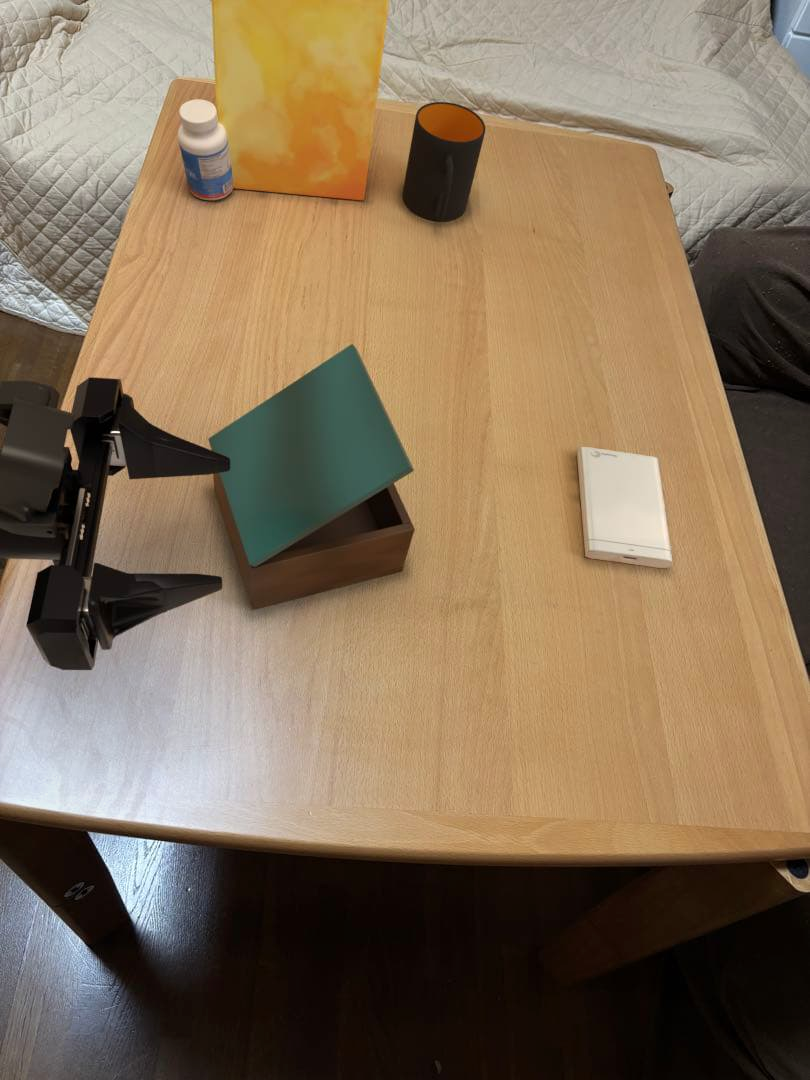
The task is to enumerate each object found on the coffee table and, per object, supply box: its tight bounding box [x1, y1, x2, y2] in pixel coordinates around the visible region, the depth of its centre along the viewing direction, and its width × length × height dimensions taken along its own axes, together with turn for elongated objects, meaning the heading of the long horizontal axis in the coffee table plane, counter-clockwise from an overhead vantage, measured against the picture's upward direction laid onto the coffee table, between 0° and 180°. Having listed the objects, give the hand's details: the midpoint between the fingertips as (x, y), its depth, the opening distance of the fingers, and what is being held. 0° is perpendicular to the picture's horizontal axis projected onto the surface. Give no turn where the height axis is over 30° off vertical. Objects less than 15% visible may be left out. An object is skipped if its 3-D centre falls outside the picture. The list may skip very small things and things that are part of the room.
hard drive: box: [576, 446, 673, 569], centre depth 78 cm, size 2×8×12 cm
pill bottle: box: [177, 98, 234, 201], centre depth 91 cm, size 6×5×10 cm
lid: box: [207, 343, 415, 567], centre depth 62 cm, size 14×13×1 cm
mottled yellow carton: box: [211, 0, 390, 201], centre depth 90 cm, size 18×12×24 cm
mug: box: [401, 101, 486, 222], centre depth 96 cm, size 8×12×10 cm
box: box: [210, 448, 416, 611], centre depth 68 cm, size 14×13×7 cm
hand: (226, 520), depth 51 cm, fingers open, 9 cm apart
